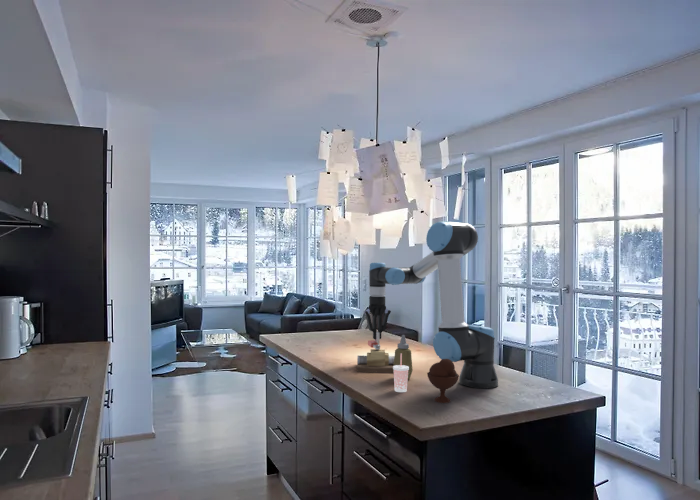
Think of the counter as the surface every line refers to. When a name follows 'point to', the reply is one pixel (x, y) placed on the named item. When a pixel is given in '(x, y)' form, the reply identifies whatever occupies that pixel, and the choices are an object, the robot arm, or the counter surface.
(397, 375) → the beverage cup
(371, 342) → the lever
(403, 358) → the squeeze bottle
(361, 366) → the valve board
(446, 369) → the ice cream bowl
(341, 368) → the counter surface
